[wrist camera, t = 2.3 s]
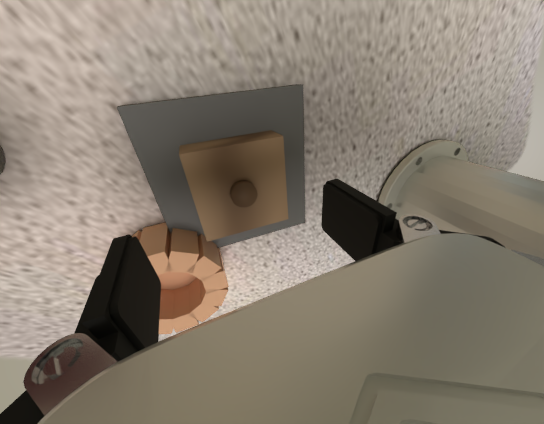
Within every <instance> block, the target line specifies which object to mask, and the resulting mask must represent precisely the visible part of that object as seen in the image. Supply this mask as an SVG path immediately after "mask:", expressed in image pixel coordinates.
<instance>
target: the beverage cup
mask: <svg viewBox="0 0 544 424" xmlns="http://www.w3.org/2000/svg"><path fill="white" fill-rule="evenodd" d="M4 165H5V157H4V153H3V149H2V148H1V146H0V174H1V173H2V172H3V169H4Z"/></svg>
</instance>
